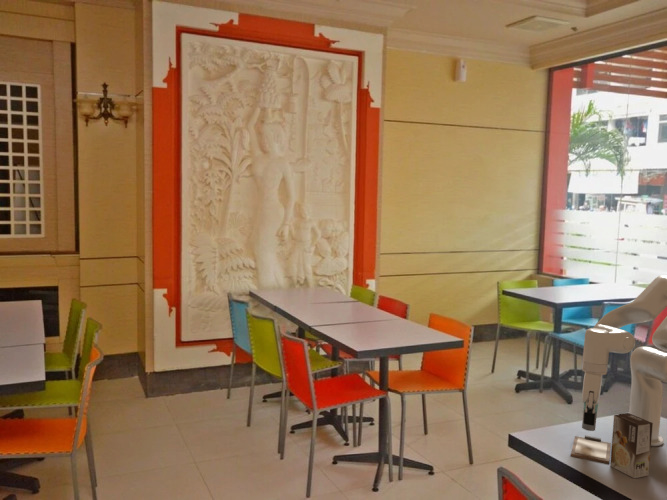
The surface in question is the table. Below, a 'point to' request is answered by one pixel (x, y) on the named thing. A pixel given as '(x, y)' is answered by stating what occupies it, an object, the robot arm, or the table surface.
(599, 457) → the clipboard
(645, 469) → the coffee box
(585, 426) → the teal capped cylinder
